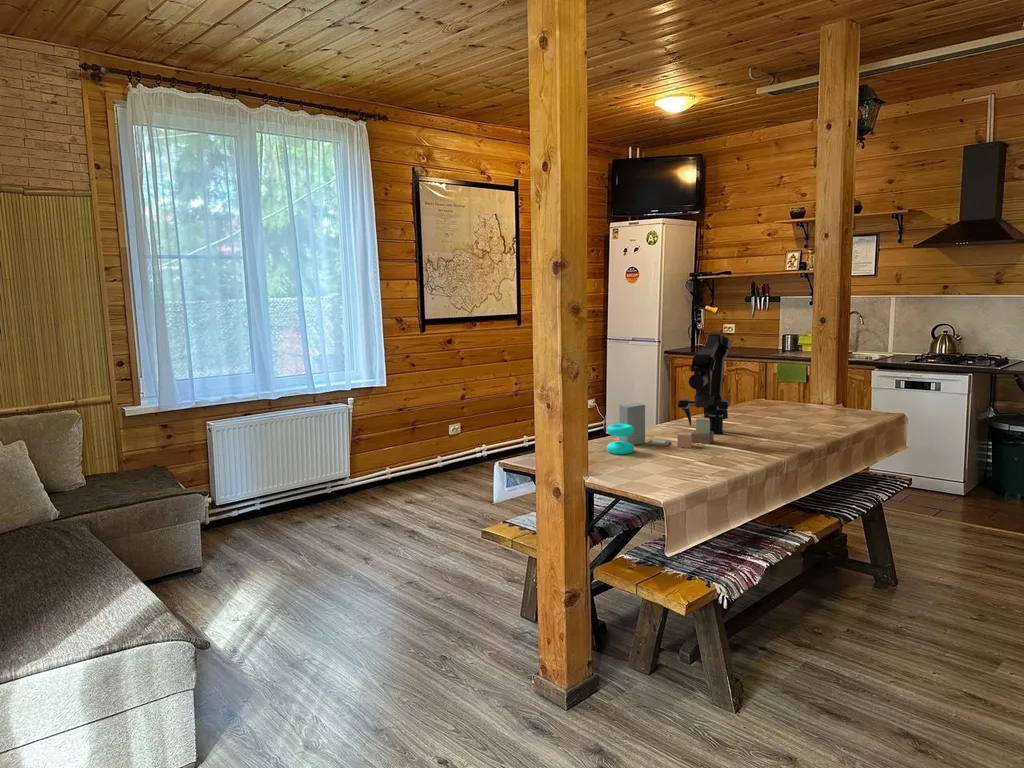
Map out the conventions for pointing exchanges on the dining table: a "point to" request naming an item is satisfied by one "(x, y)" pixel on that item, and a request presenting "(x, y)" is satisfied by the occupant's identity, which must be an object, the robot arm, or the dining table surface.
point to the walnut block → (702, 438)
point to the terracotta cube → (684, 439)
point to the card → (658, 442)
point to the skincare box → (633, 421)
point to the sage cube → (703, 426)
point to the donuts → (620, 446)
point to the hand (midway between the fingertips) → (702, 425)
